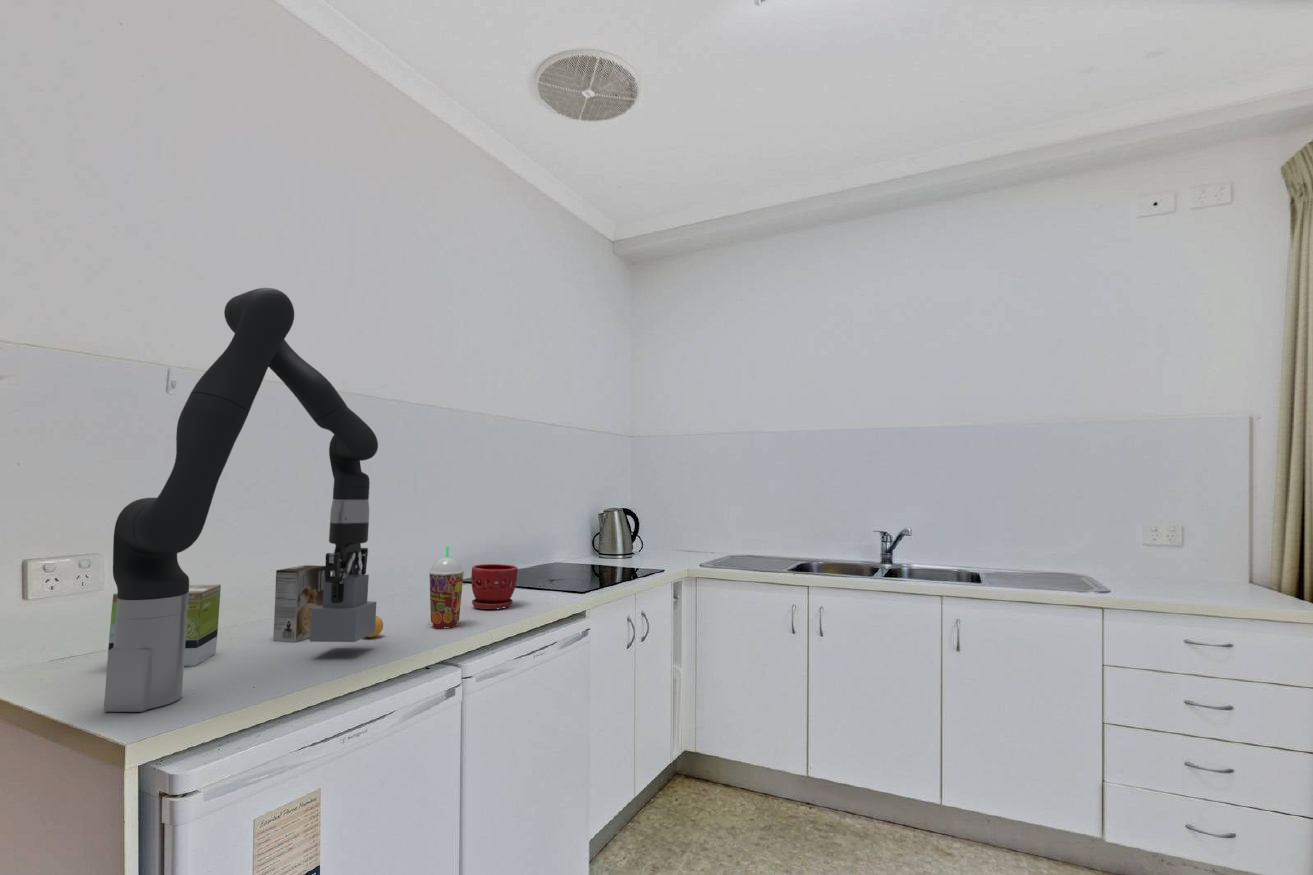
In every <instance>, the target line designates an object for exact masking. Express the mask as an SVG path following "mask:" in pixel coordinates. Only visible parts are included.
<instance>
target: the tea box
mask: <svg viewBox="0 0 1313 875" xmlns="http://www.w3.org/2000/svg"><path fill="white" fill-rule="evenodd" d="M221 588H222V585H221V584H189V595H188V610H187V625H186V640H185V656H184V668H185V667H186V666H187V668H188V666H192V667H196V666H198V665H199V664H201V663H203V662H205V661H206V660H207V659H209V658H210V657H212V656H213V655H215V654H216V653H217V652H216V651H217V643H218V630H219V618H220V615H219V614H220V606H221V605H220V604H221V591H222V590H221ZM116 608H117V593H113V595H112V602H111V612H110V615H111V616H110V625H109V638H108V647H107V649H108V650H107V652H108V651H109V650H110V649H112V648H113V647H114V634H115V620H116ZM205 659H206V660H205ZM197 664H198V665H197Z"/></svg>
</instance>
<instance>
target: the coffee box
mask: <svg viewBox="0 0 1313 875" xmlns="http://www.w3.org/2000/svg"><path fill="white" fill-rule="evenodd" d="M325 566H326V565H308V564H307V565H300V566H293V567H288V568H282V569H281V568H280V569H277V570H275V591H274V592H275V596H274V612H273V613H274V617H273V619H274V620H273V634H272V635H273V637H272V638H273V639H272V640H273V642H285V643H286V642H287V643H288V642H289V643H298V642H301V641H303V640H306V639H310V630H311V614H312V608H315V607H318V606H321V605H322V604H323V587H324V578H325Z"/></svg>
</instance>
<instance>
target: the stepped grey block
mask: <svg viewBox="0 0 1313 875" xmlns="http://www.w3.org/2000/svg"><path fill="white" fill-rule="evenodd" d="M369 575H370V574H365V575H357V574H347V575H346V577H345V581H344V592H343V601H342V602H340V603H332V602H331V589H332V584H330V583H329V582H326V581H325V578H324V587H323V604H322V605H321V606H318V607H315V608H312V614H311V630H310V638H309V642H310V643H311V642H313V643H317V642H318V643H319V642H320V643H327V642H328V643H355V642H358V641H360V640H362V639H364V638H367V637H366V636H368V635H370V634H372V633H374V632H375V621H376V616H377V615H376V614H377V601H368V598H369V597H368V595H369V577H370V576H369ZM340 577H341V574H340Z"/></svg>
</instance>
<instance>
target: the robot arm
mask: <svg viewBox="0 0 1313 875" xmlns="http://www.w3.org/2000/svg"><path fill="white" fill-rule="evenodd" d="M223 312H224V318H225V322H226V324H227V326H228V327H229V328H230V330H231V331H232V332H233V333H234V334H233V336H232V339H231V340H230V343H229V344H228V346H227V347H226V348H225V350H224V351H223V353H222V354H221V355H219V357H218V358H217V359H216V360H215V361H214V362H213V363H212V365H211V366H209V367H208V369H207V370H206V371H205V372H204V373H203V375H201V377H200V378H199V379H198V381H197V382H196V384H195V385H194V387H193V388H192V390H191V391H190V394H189V396H188V397H187V400H186V402H185V404H184V406H183V408H182V410H181V411H180V415H179V418H178V420H177V425H176V432H175V433H176V435H175V436H176V440H175V441H176V442H175V443H176V445H175V446H176V449H175V450H176V452H175V453H176V454H175V460H174V464H173V467H172V470H171V471H170V472H171V473H170V475H169V476H168V478H167V480H166V482H165V484H164V486H163V488H162V490H160V493H159V494H158V496H157V497H143V498H140V499H136V500H134V501H132V502H130V503H129V504H127V505H126V506H125V507H123V509H122V510H121V511H120V513H119V514H118V517H117V518H116V521H115V525H114V528H113V531H114V532H113V544H112V545H113V548H112V576H113V579H114V580H113V581H114V583H115V585H116V589H117V593H116V594H117V608H116V620H115V634H114V647H113V648H112V649H110V650H109V651H108V650H107V663H106V674H105V675H106V676H105V689H104V690H105V691H104V702H103V712H108V713H109V712H114V713H115V712H116V713H117V712H127V713H128V712H129V713H130V712H132V713H136V712H139V713H142V712H146V711H147V710H150V709H155V708H161V707H163V706H167V705H169V704H172V703H174V702H177V701H178V700H180V699H181V698H182V697H183V684H184V683H183V682H184V668H185V667H184V656H185V640H186V625H187V610H188V595H189V585H190V578H189V576H188V574H187V573H186V572H185V571H184V570H183V569H182V567H181V566H180V564H179V562H178V554H179V553H182V552H184V551H186V550H187V549H189V548H190V547H191V546H193V545H194V543H195V542H196V541H197V540H198V538H199V537H200V535H201V534H202V531H203V529H204V527H205V524H206V521H207V517H208V515H209V512H210V511H209V510H210V507H211V505H212V501H213V498H214V495H215V492H216V489H217V487H218V486H217V485H218V482H219V480H220V478H221V475H222V473H223V471H224V468H225V466H226V464H227V462H228V460H229V457H230V455H231V453H232V450H233V448H234V446H235V443H236V442H237V439H238V437H239V435H240V433H241V432H242V429H243V427H244V425H245V423H246V420H247V418H248V416H249V414H250V411H251V409H252V407H253V404H254V402H255V399H256V397H257V395H258V392H259V390H260V388H261V386H262V383H263V380H264V378H265V376H266V373H267V371H268V368H269V369H270V370H271V371H272V372H273V373H274V374H275V375H276V376H277V377H278V378H279V379H280V381H281V382H282V383H283V384H284V385H285V386H286V387H287V388H288V390H289V391H290V392H291V393H292V394H293V395H294V397H295V398H297V401H298V402H299V403H300V405H301V406H302V407H303V408H304V410H305V411H306V412H307V413H308V415H309V416H310V418H311V419H312V421H314V423H315V424H316V425H317V426H318V427H320V428H322V429H324V430H327V431H329V432H331V433H332V434H333V436H332V437H331V439H330V442H329V448H328V454H329V457H328V458H329V462H330V467H331V472H332V476H333V487H332V488H333V490H332V503H331V506H330V518H329V520H330V521H329V531H328V532H329V534H328V542H329V543H330V544H333V545H335V547H334V552H327V553H326V554H325V565H324V566H325V581H326V582H329V583H330V584H332V589H331V602H332V603H340V602H342V601H343V592H344V581H345V577H346V575H347V574H357V575H367V565H368V554H369V549H368V547H362V546H361V544H364V543H365V544H366V543H368V540H369V527H370V526H369V525H370V524H369V523H370V522H369V521H370V504H369V503H370V502H369V499H370V476H369V475H368V474H366V473H365V472H363V471H362V468H361V467H362V466H361V461H366V460H369V459H372V458H373V457H374V456H375V455H376V454H377V452H378V448H379V442H378V439H377V436H376V434H375V432H374V431H373V430H372V428H371V427H370V426H369V425H368V424H367V423H366V422H365V421H364V420H363V419H362V418H361V417H359V416H358V414H356V413H355V412H354V411H353V410H352V409H350V408H349V406H348V405H347V403H346V402H345V401H344V399H343V398H342V396H341V395H340V393H339V392H338V391H337V390H336V388H335V387H334V386H333V384H332V383H331V381H329V379H328V378H327V377H325V375H323V374H322V373H321V372H320V371H318V370H317V369H316V368H315V367H313V365H311V364H310V363H309V362H307V361H306V360H304V359H303V358H302V357H301V356H300V355H299V354H298V353H297V352H296V351H295V350H294V349H293V348H292V347H291V346H290V345H289V343H288V342H287V341H286V340H285V338H286V337H287V335H288V334H289V332H290V331H291V329H292V327H293V324H294V320H295V309H294V305H293V302H292V301H291V299H290V297H288V295H287V294H285V292H283V291H282V290H279V289H277V288H272V287H261V288H255V289H251V290H249V291H246V292H243V293H240V294H239V295H236V296H234V297H231V298H230V299H229V300H228V301H227V303H226V304H225V306H224V311H223ZM340 574H341V577H340Z"/></svg>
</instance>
